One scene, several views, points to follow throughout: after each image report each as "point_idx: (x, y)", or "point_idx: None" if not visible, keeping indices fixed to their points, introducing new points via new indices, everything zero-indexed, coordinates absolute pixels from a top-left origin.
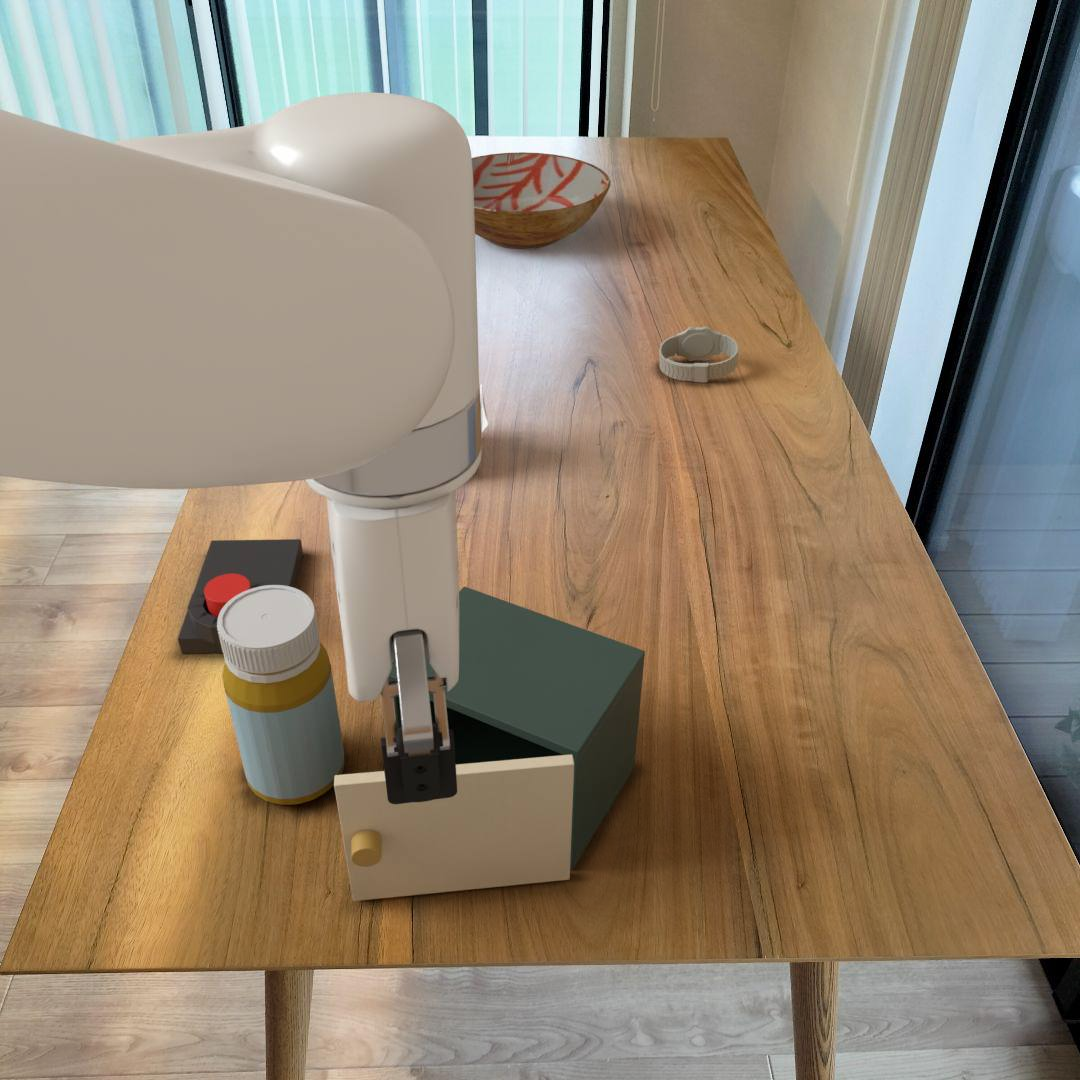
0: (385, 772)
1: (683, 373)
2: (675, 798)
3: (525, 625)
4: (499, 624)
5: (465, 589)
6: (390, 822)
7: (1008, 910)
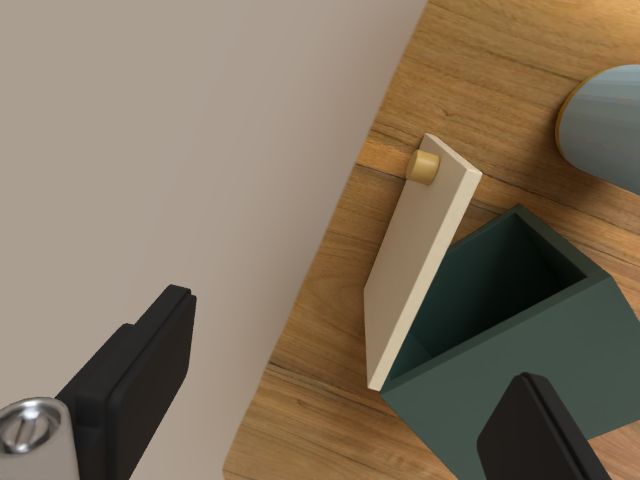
0: (130, 332)
1: None
2: None
3: None
4: (594, 406)
5: None
6: (427, 201)
7: (244, 469)
